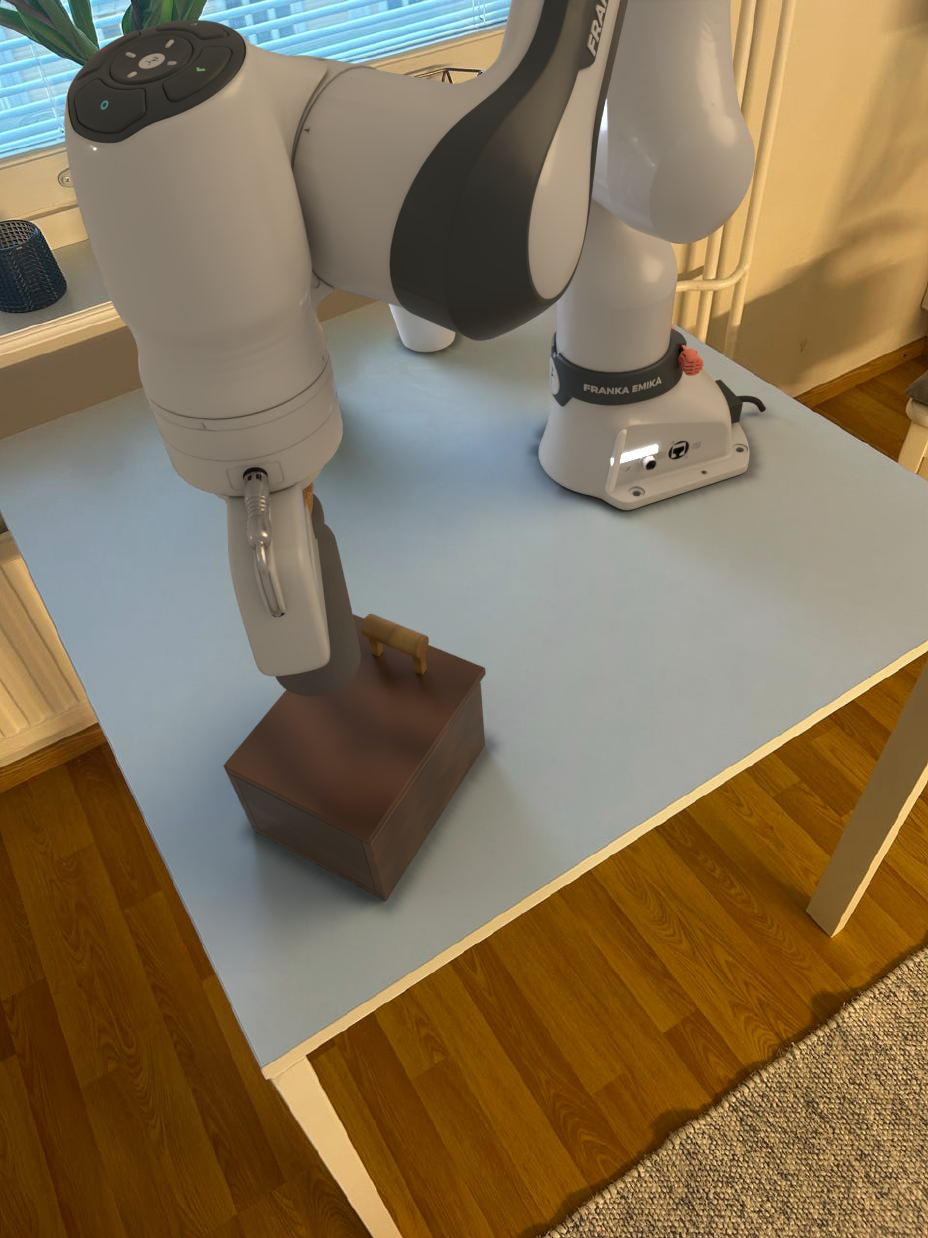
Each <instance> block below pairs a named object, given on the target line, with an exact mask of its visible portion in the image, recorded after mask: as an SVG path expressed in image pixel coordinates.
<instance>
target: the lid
mask: <svg viewBox="0 0 928 1238" xmlns="http://www.w3.org/2000/svg"><path fill="white" fill-rule="evenodd" d="M353 617H354V622H355V627H356V631H357V636H358V641H359V646H360V653H361V660H360V665H359V668H358V670H357V672H356V674H355V675H354V676H353V678H352V679H351V680H350V681H349V682H348V683H347V684H346V685H344V686H343V687H341V688H340V689H338V690H336V691H334V692H332V693H329V694H325V695H321V696H301V695H297V694H294V693H292V692H290V691H288V690H286V689H285V691H284V692H283V693H282V694H281V695H280V697H279V698H278V699H277V700H276V701H275V702H274V704H273V705H272V706H271V708H270V709H269V710H268V711H267V712H266V713H265V714H264V716H263V718H261V720H260V721H259V722H258V723H257V724H256V725H255V727H254V728H253V729H252V730H251V731H250V733H249V734H248V735H247V737H246V738H244V740H243V741H242V742H241V744H240V745H238V747H237V749H236V750H235V751H234V752H233V753H232V755H230V757H229V758H228V760H227V761H226V762H225V763H224V764H223V768H224V771H225V773H226V772H228V773H230V774H232V775H234V776H236V777H238V778H240V779H242V780H244V781H246V782H248V783H250V784H252V785H254V786H255V787H257V788H259V789H261V790H263V791H265V792H267V793H269V794H271V795H273V796H275V797H277V798H279V799H281V800H283V801H285V802H287V803H289V804H291V805H293V806H295V807H297V808H299V809H301V810H303V811H304V812H306V813H308V814H310V815H312V816H314V817H316V818H318V819H320V820H322V821H324V822H326V823H328V824H330V825H332V826H334V827H336V828H338V829H340V830H342V831H344V832H346V833H348V834H350V835H351V836H353V837H355V838H357V839H359V840H361V841H363V842H365V843H367V844H369V845H371V843H372V842H373V840H374V839H375V838H376V836H377V835H378V833H379V832H380V830H381V829H382V827H383V826H384V824H385V823H386V821H387V820H388V818H389V817H390V815H391V814H392V812H393V811H394V809H395V808H396V806H397V805H398V803H399V802H400V800H401V799H402V797H403V796H404V794H405V793H406V792H407V790H408V789H409V787H410V786H411V784H412V783H413V781H414V780H415V778H416V777H417V775H418V774H419V772H420V771H421V769H422V768H423V766H424V765H425V763H426V762H427V760H428V759H429V757H430V756H431V754H432V753H433V751H434V750H435V748H436V747H437V746H438V744H439V743H440V741H441V740H442V738H443V737H444V735H445V734H446V732H447V731H448V729H449V728H450V726H451V725H452V723H453V722H454V720H455V719H456V717H457V716H458V714H459V713H460V711H461V710H462V708H463V707H464V705H465V704H466V702H467V701H468V700H469V698H470V697H471V695H472V694H473V692H474V691H475V689H476V688H477V686H478V685H479V683H480V682H481V683H482V680H483V679H484V677H485V676H486V674H487V673H486V672H487V671H486V667H485V666H482V665H479V664H477V663H475V662H472V661H469V660H467V659H464V658H462V657H460V656H457V655H455V654H452V653H450V652H447V651H445V650H443V649H441V648H437V647H435V646H433V645H431V644H429V643H430V639H429V636H428V635H426V634H424V633H421V632H419V631H416V630H413V629H411V628H409V627H406V626H404V625H402V624H399V623H396V622H394V621H391V620H389V619H386V618H384V617H382V616H379V615H376V614H374V613H368V614H367V615H366V616H365V617H361V616H359V615H357V614H354V613H353Z"/></svg>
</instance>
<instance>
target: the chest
mask: <svg viewBox="0 0 928 1238" xmlns="http://www.w3.org/2000/svg"><path fill="white" fill-rule="evenodd" d="M482 695H483V694H482V681H481V682H480V683H479V685H478V686H477V688H476V689H475V691H474V692H473V694H472V695H471V697H470V698H469V700H468V701H467V702H466V704H465V705H464V707H463V708H462V710H461V711H460V713H459V714H458V716H457V717H456V719H455V720H454V722H453V723H452V725H451V726H450V728H449V729H448V731H447V732H446V734H445V735H444V737H443V738H442V740H441V741H440V743H439V744H438V746H437V747H436V748H435V750H434V751H433V753H432V754H431V756H430V757H429V759H428V760H427V762H426V763H425V765H424V766H423V768H422V769H421V771H420V772H419V774H418V775H417V777H416V778H415V780H414V781H413V783H412V784H411V786H410V787H409V789H408V790H407V792H406V793H405V794H404V796H403V797H402V799H401V800H400V802H399V803H398V805H397V806H396V808H395V809H394V811H393V812H392V814H391V815H390V817H389V818H388V820H387V821H386V823H385V824H384V826H383V827H382V829H381V830H380V832H379V833H378V835H377V836H376V838H375V839H374V840H373V842H372V843H371V845H369V844H367V843H365V842H363V841H361V840H359V839H357V838H355V837H353V836H351V835H350V834H348V833H346V832H344V831H342V830H340V829H338V828H336V827H334V826H332V825H330V824H328V823H326V822H324V821H322V820H320V819H318V818H316V817H314V816H312V815H310V814H308V813H306V812H304V811H303V810H301V809H299V808H297V807H295V806H293V805H291V804H289V803H287V802H285V801H283V800H281V799H279V798H277V797H275V796H273V795H271V794H269V793H267V792H265V791H263V790H261V789H259V788H257V787H255V786H254V785H252V784H250V783H248V782H246V781H244V780H242V779H240V778H238V777H236V776H234V775H232V774H230V773H228V772H226V771H225V773H226V775H227V777H228V779H229V782H230V783H231V786H232V788H233V790H234V792H235V794H236V796H237V798H238V801H239V803H240V805H241V807H242V809H243V811H244V814H245V816H246V818H247V821H248V822H249V824H250V826H251V828H252V831H253V832H255V833H257V834H259V835H261V836H263V837H265V838H267V839H269V840H271V841H272V842H274V843H276V844H278V845H280V846H282V847H284V848H286V849H287V850H289V851H291V852H292V853H295V854H297V855H299V856H300V857H302V858H304V859H306V860H308V861H310V862H312V863H313V864H315V865H317V866H319V867H322V868H323V869H325V870H327V871H328V872H330V873H333V875H336V876H338V877H340V878H342V879H343V880H345V881H348V882H349V883H351V884H352V885H355V886H357V887H359V888H360V889H363V891H366V892H368V893H370V894H371V895H374V896H376V897H378V898H379V899H381V900H383V901H385V902H386V901H387V900H388V899H389V897H390V895H391V894H392V892H393V891H394V889H395V887H396V886H397V885H398V883H399V882H400V880H401V878H402V876H403V875H404V873H405V872H406V870H407V869H408V867H409V866H410V865H411V863H412V861H413V859H415V857H416V856H417V855H416V854H417V853H418V852H419V850H420V849H421V847H422V845H423V844H424V842H425V841H426V839H427V837H428V836H429V834H430V833H431V831H432V830H433V828H434V827H435V825H436V823H437V822H438V820H439V818H440V817H441V815H442V814H443V812H444V811H445V809H446V808H447V806H448V805H449V803H450V801H451V799H452V798H453V796H454V795H455V794H456V792H457V790H458V788H459V787H460V785H461V784H462V782H463V781H464V779H465V778H466V776H467V775H468V773H469V771H470V770H471V768H472V767H473V765H474V764H475V762H476V760H477V759H478V757H479V755H480V754H481V752H482V751H483V750H484V748H485V746H486V739H485V737H486V736H485V724H484V722H485V721H484V710H483V709H484V708H483V696H482Z"/></svg>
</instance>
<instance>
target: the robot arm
mask: <svg viewBox="0 0 928 1238" xmlns="http://www.w3.org/2000/svg"><path fill="white" fill-rule="evenodd" d="M731 1H732V0H510V5H509V9H508V14H507V19H506V23H505V27H504V33H503V37H502V41H501V45H500V46H501V47H500V49H499V50H500V51H499V53H498V55H497V58H496V59H495V61H494V62H493V63H492V65H490V67H488V68H487V69H486V70H485V71H483V72H482V73H480V74H478V75H476V76H475V77H473V78H470V79H467V80H465V81H461V82H458V83H457V82H455V83H452V82H446V81H440V80H434V79H428V78H424V77H418V76H413V75H407V74H401V73H396V72H392V71H391V72H390V71H385V70H380V69H378V68H375V67H373V66H369V65H364V64H358V63H352V62H347V61H341V60H337V59H332V58H325V57H319V56H313V55H306V54H305V55H304V54H295V55H294V54H292V55H291V54H290V55H287V54H282V53H278V52H274V51H271V50H267V49H264V48H262V47H258V46H257V45H255V44H252V43H251V42H249V41H248V40H247V39H246V38H245V37H244V36H243V35H242V34H241V33H240V32H239V31H237V30H236V29H234V28H232V27H230V26H228V25H225V24H224V23H220V22H216V21H212V20H204V19H189V20H188V19H186V20H184V19H183V20H172V21H165V22H161V23H160V24H156V25H153V26H149V27H146V28H143V29H140V30H133V31H130V32H128V33H126V34H123V35H121V36H120V37H118V38H116V39H114V40H113V41H112V40H111V42H109V43H108V44H106V45H104V46H103V47H102V48H100V49H99V50H97V52H95V53H94V54H93V55H92V56H91V57H90V58H89V59H88V60H87V61H86V62H85V63H84V65H83V66H82V67H81V68H80V69H79V70H78V71H77V73H76V74H75V76H74V77H73V78H72V80H71V81H70V84H69V86H68V88H67V91H66V95H65V101H64V114H63V115H64V117H63V118H64V120H63V121H64V123H63V124H64V126H63V127H64V142H65V150H66V157H67V163H68V166H69V167H68V168H69V172H70V178H71V182H72V186H73V190H74V194H75V198H76V203H77V206H78V209H79V213H80V216H81V220H82V222H83V223H82V224H83V226H84V229H85V232H86V235H87V239H88V242H89V244H90V247H91V251H92V253H93V256H94V259H95V262H96V265H97V267H98V270H99V274H100V276H101V278H102V281H103V284H104V286H105V289H106V292H107V295H108V298H109V300H110V302H111V304H112V306H113V308H114V310H115V312H116V313H117V315H118V316H119V318H121V320H122V321H123V323H124V324H125V325H126V327H127V328H128V329H129V331H130V332H131V335H132V336H133V338H134V341H135V343H136V348H137V354H138V355H137V356H138V357H137V358H138V374H139V378H140V382H141V387H142V389H143V391H144V394H145V396H146V400H147V402H148V404H149V407H150V410H151V412H152V414H153V417H154V420H155V423H156V425H157V428H158V431H159V433H160V437H161V439H162V442H163V445H164V447H165V450H166V452H167V455H168V458H169V461H170V463H171V466H172V468H173V470H174V471H175V473H176V475H178V476H179V477H180V478H181V480H183V481H184V482H186V483H187V484H189V485H190V486H192V487H194V488H195V489H198V490H200V491H202V492H206V493H209V494H213V495H215V496H216V497H217V498H219V499H222V500H223V501H225V502H226V501H227V504H226V517H227V518H226V520H227V521H226V523H227V524H226V525H227V552H228V553H227V554H228V563H229V570H230V576H231V581H232V586H233V590H234V595H235V598H236V599H235V600H236V603H237V607H238V610H239V613H240V616H241V620H242V624H243V626H244V631H245V633H246V637H247V640H248V644H249V646H250V649H251V653H252V656H253V659H254V662H255V665H256V668H257V669H258V671H259V672H260V673H261V674H262V675H264V676H267V677H275V676H285V675H292V674H298V673H303V672H307V671H312V670H315V669H318V668H321V667H323V666H325V665H326V664H327V663H328V662H329V660H330V643H329V634H328V625H327V617H326V609H325V600H324V592H323V583H322V575H321V567H320V558H319V550H318V541H317V539H315V535H314V531H313V526H312V519H311V515H310V512H309V509H308V506H307V505H306V506H305V507H304V502H303V493H302V490H304V489H305V488H306V487H308V486H309V485H310V484H311V483H312V482H313V483H314V481H315V480H316V479H317V478H318V476H319V475H320V473H321V472H322V469H323V467H324V466H326V465H327V464H328V463H329V462H330V461H331V460H332V458H333V457H334V456H335V454H336V452H337V451H338V449H339V447H340V445H341V442H342V439H343V434H344V423H343V419H342V413H341V408H340V403H339V398H338V393H337V386H336V382H335V376H334V371H333V370H334V369H333V366H332V365H333V364H332V359H331V354H330V349H329V343H328V340H327V336H326V334H325V331H324V329H323V327H322V324H321V322H320V320H319V318H318V308H319V304H320V302H321V301H322V300H323V299H324V298H325V297H327V296H328V295H330V293H332V292H334V291H335V290H336V289H338V290H342V291H345V292H349V293H352V294H355V295H358V296H362V297H365V298H369V299H372V300H374V301H375V300H376V301H378V302H381V303H385V304H388V305H389V304H391V305H395V306H398V307H401V308H405V309H406V310H407V311H408V312H410V313H411V314H414V315H416V316H418V317H421V318H423V319H425V320H428V321H430V322H432V323H435V324H437V325H439V326H442V327H444V328H446V329H449V330H451V331H453V332H455V334H457V335H460V336H462V337H465V338H467V339H470V340H472V341H477V342H478V341H479V342H484V341H489V340H492V339H495V338H497V337H500V336H502V335H505V334H507V333H509V332H511V331H514V330H516V329H518V328H519V327H521V326H523V325H525V324H527V323H528V322H531V321H533V319H535V318H537V317H538V316H540V315H541V314H543V313H545V311H547V310H548V309H549V308H551V306H553V305H556V307H555V308H556V309H555V315H556V316H555V322H556V323H555V332H554V333H553V336H552V338H551V348H550V357H549V386H550V387H549V388H550V392H551V401H550V407H549V413H548V417H547V421H546V426H545V429H544V432H543V435H542V438H541V439H540V442H539V445H538V454H537V455H538V460H539V464H540V465H541V467H542V469H543V470H544V473H545V474H547V476H549V477H550V478H551V480H552V481H554V482H556V483H557V484H559V485H560V486H562V487H564V488H566V489H568V490H570V491H572V492H576V493H578V494H582V495H586V496H591V497H594V498H598V499H601V500H602V501H604V502H606V503H608V504H609V505H611V506H613V507H614V508H616V509H619V510H622V511H632V510H634V509H635V510H636V509H638V508H641V507H644V506H647V505H650V504H653V503H656V502H660V501H662V500H667V499H669V498H672V497H675V496H678V495H681V494H684V493H687V492H691V491H694V490H697V489H700V488H703V487H707V486H709V485H712V484H715V483H719V482H721V481H724V480H727V479H730V478H733V477H737V476H739V475H742V474H744V473H746V472H747V471H748V467H749V463H750V446H749V442H748V439H747V436H746V434H745V431H744V429H743V428H742V427H741V424H740V423H739V422H740V419H741V415H742V410H743V405H744V403H750V404H753V405H754V406H756V407H757V409H758V411H759V412H760V413H764V412H765V411H766V410H767V407H766V405H764V403H763V401H762V400H761V399H760V398H758V397H756V396H753V395H736V394H735V393H734V391H732V389H731V388H729V386H728V385H727V384H726V383H725V382H724V381H723V380H722V379H717V380H715V379H714V378H712V376H711V374H709V373H708V372H707V371H705V370H704V369H703V367H704V366H705V365H704V360H703V359H702V358H701V356H699V352H698V351H697V349H694V348H687V344H688V343H687V340H686V338H685V337H684V335H683V334H682V333H681V332H679V331H677V330H676V328H675V326H674V325H673V318H674V317H673V316H674V310H675V309H674V308H675V301H676V294H677V287H678V286H677V285H678V278H679V277H678V275H679V271H678V262H677V257H676V253H675V250H674V247H673V246H672V244H676V245H689V244H693V243H696V242H697V243H698V242H699V241H702V240H703V239H706V238H708V237H710V236H711V235H713V234H714V233H715V232H716V231H718V230H719V229H721V228H723V226H724V225H725V224H727V222H728V221H729V220H730V219H731V218H732V217H733V215H734V214H735V213H736V212H737V211H738V209H739V207H740V206H741V204H742V203H743V201H744V199H745V197H746V194H747V193H748V190H749V187H750V186H751V183H752V179H753V175H754V171H755V163H756V162H755V161H756V149H755V144H754V140H753V137H752V134H751V132H750V130H749V128H748V127H749V126H748V125H747V122H746V120H745V118H744V115H743V112H742V109H741V105H740V101H739V97H738V93H737V87H736V80H735V72H734V61H733V48H732V47H733V46H732V23H731V21H732V20H731ZM312 513H313V511H312Z"/></svg>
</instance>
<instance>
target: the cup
mask: <svg viewBox="0 0 928 1238" xmlns="http://www.w3.org/2000/svg"><path fill="white" fill-rule="evenodd" d="M388 306H389V309H390V312H391V314H392V317H393V321H394V323H395V325H396V327H397V331H398V334H399V337H400V340H401V342H402V344H403V346H404V347H406V348H407V349H409V350H411V351H414V352H418V353H433V352H437V351H441V350H443V349H445V348H447V347H449V346H450V345H452V344H453V342H454V340H455V338H456V332H453V331H451V330H449V329H446V328H444V327H442V326H439V325H437V324H435V323H432V322H430V321H428V320H425V319H423V318H421V317H418V316H416V315H414V314H411V313H410V312H408V311H407V310H406V309H405V308H401V307H398V306H395V305H391V304H388Z"/></svg>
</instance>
